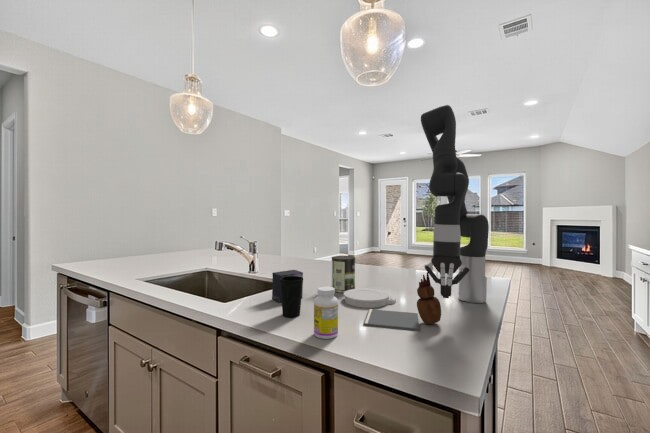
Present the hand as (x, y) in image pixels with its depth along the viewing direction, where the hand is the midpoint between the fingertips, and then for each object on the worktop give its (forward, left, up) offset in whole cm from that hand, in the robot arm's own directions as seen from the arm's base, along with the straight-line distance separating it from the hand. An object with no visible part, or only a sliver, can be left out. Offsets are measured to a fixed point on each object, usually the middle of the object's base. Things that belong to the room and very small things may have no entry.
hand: (445, 297), depth 93 cm
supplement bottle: (+33, +17, -9) cm, 38 cm away
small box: (+56, -13, -9) cm, 58 cm away
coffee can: (+38, -33, -9) cm, 51 cm away
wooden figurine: (+4, 0, -8) cm, 9 cm away
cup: (+48, +4, -9) cm, 49 cm away
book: (+16, 0, -8) cm, 18 cm away
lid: (+25, -19, -9) cm, 33 cm away
